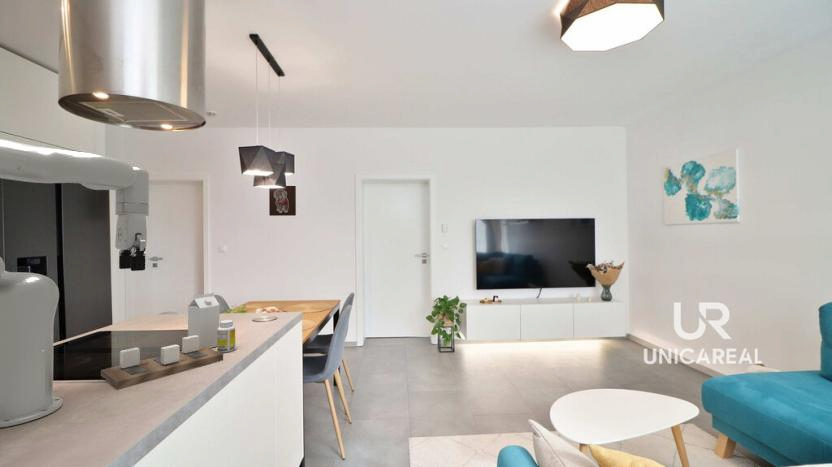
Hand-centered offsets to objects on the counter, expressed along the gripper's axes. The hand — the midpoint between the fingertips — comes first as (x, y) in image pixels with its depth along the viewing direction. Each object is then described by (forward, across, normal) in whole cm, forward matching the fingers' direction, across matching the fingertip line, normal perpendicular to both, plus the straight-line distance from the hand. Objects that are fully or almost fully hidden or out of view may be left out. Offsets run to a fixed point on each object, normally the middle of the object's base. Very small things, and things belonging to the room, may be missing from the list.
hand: (131, 269), depth 102 cm
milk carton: (+31, -10, +24) cm, 40 cm away
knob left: (+28, -1, 0) cm, 28 cm away
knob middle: (+28, +5, +8) cm, 29 cm away
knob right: (+28, -1, +16) cm, 32 cm away
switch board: (+30, +2, +8) cm, 31 cm away
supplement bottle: (+31, 0, +27) cm, 41 cm away
